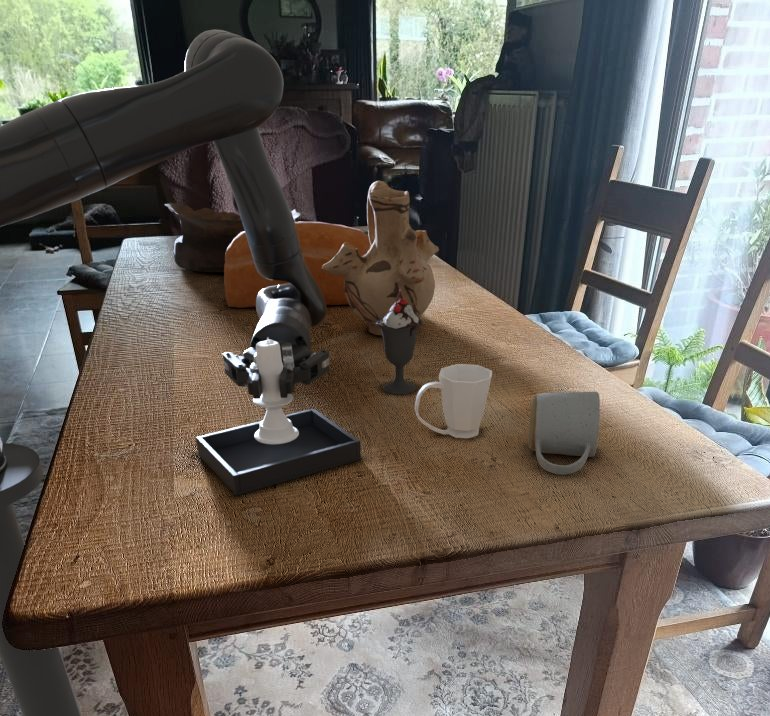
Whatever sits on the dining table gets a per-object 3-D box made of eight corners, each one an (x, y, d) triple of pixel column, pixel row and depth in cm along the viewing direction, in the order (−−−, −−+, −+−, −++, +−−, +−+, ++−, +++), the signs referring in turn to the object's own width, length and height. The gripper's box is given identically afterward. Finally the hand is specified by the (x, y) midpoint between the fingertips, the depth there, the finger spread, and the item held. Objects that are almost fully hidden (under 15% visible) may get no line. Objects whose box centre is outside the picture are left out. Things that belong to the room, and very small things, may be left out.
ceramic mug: (526, 436, 91) (531, 379, 87) (591, 439, 90) (600, 382, 86) (525, 475, 82) (531, 414, 78) (597, 480, 81) (607, 419, 77)
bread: (231, 293, 157) (222, 218, 149) (379, 289, 158) (378, 215, 150) (223, 310, 145) (213, 229, 137) (383, 305, 147) (382, 225, 139)
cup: (497, 440, 90) (502, 379, 86) (421, 447, 89) (422, 386, 85) (480, 418, 96) (483, 361, 92) (408, 425, 95) (408, 367, 90)
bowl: (191, 258, 198) (186, 200, 191) (309, 264, 197) (309, 206, 191) (149, 275, 167) (143, 206, 160) (290, 282, 166) (289, 213, 160)
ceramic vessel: (324, 339, 127) (316, 187, 114) (363, 312, 143) (360, 175, 130) (420, 350, 122) (423, 192, 109) (450, 320, 137) (456, 178, 124)
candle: (261, 425, 88) (251, 330, 82) (303, 427, 87) (296, 331, 81) (248, 444, 84) (236, 345, 77) (292, 446, 83) (284, 346, 77)
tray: (236, 496, 79) (233, 476, 77) (198, 455, 88) (195, 436, 86) (361, 459, 86) (360, 440, 85) (314, 425, 95) (313, 408, 94)
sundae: (393, 400, 102) (393, 295, 95) (369, 386, 107) (366, 285, 99) (430, 390, 105) (433, 288, 98) (404, 377, 110) (405, 279, 102)
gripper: (225, 314, 92) (202, 359, 77) (333, 311, 92) (329, 356, 77) (233, 369, 96) (211, 423, 81) (335, 367, 96) (333, 419, 81)
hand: (269, 390), depth 79 cm, fingers closed on candle, 2 cm apart
